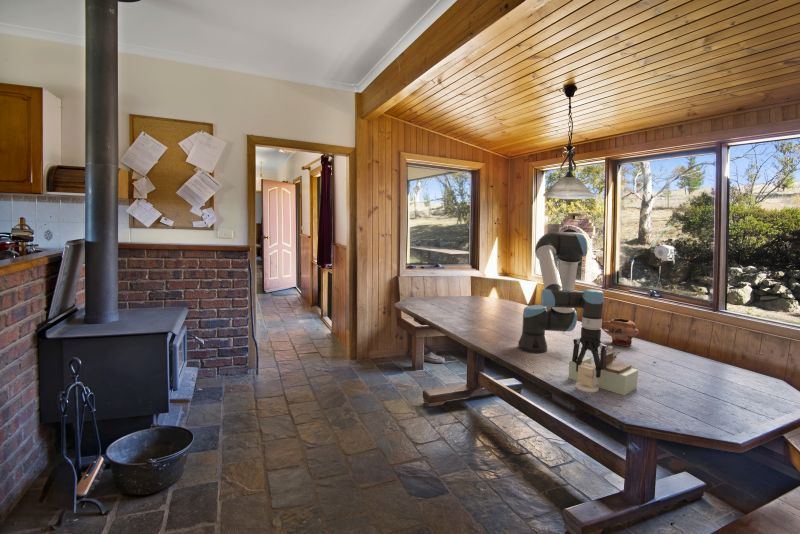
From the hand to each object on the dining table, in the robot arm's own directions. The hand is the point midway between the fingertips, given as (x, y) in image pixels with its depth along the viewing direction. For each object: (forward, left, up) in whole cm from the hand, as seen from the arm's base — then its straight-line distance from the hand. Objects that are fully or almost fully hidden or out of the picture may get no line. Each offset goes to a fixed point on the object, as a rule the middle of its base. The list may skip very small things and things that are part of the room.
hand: (587, 382), depth 186 cm
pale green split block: (+1, +11, -3) cm, 11 cm away
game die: (-11, +44, -3) cm, 45 cm away
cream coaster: (0, 0, -3) cm, 3 cm away
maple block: (0, 0, 0) cm, 0 cm away
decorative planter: (-22, +80, -3) cm, 83 cm away
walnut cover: (+6, +11, +6) cm, 14 cm away
